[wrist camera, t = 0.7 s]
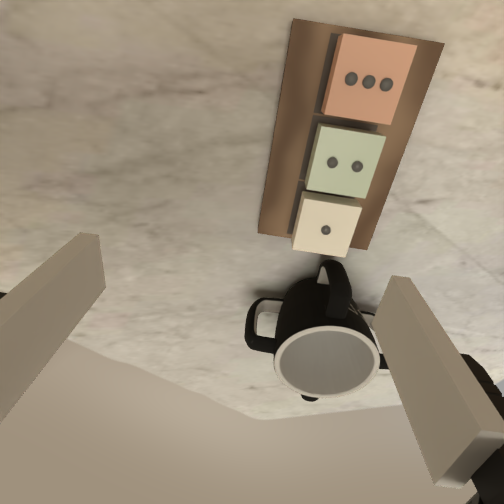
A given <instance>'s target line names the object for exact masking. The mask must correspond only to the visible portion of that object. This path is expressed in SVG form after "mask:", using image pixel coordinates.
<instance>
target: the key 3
mask: <svg viewBox="0 0 504 504" xmlns="http://www.w3.org/2000/svg"><path fill="white" fill-rule="evenodd" d="M416 49H417V45H411V44H405V43H399V42H393V41H387V40H381V39H375V38H369V37H363V36H357V35H351V34H345V33H343V34H342V35H340V36H338V40H337V44H336V49H335V53H334V57H333V62H332V66H331V70H330V75H329V79H328V83H327V88H326V92H325V96H324V101H323V105H322V109H321V112H322V113H323V114H325V115H331V116H338V117H344V118H350V119H356V120H362V121H368V122H375V123H381V124H387V125H391V122H392V119H393V116H394V113H395V110H396V108H397V105H398V102H399V99H400V96H401V93H402V90H403V87H404V84H405V81H406V78H407V75H408V72H409V69H410V66H411V64H412V61H413V58H414V55H415V52H416Z"/></svg>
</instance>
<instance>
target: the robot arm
mask: <svg viewBox="0 0 504 504" xmlns="http://www.w3.org/2000/svg"><path fill="white" fill-rule="evenodd" d="M105 288H106V285H105V278H104V270H103V263H102V256H101V249H100V241H99V235H95V234H88V233H81V232H80V233H79V234H78V235H77V236H76V237H74V238H73V239H72V240H71V241H70V242H68V243H67V244H66V245H65V246H64V247H62V248H61V249H60V250H59V251H58V252H56V253H55V254H54V255H53V256H52V257H50V258H49V259H48V260H47V261H46V262H44V263H43V264H42V265H41V266H40V267H38V268H37V269H36V270H35V271H34V272H32V273H31V274H30V275H29V276H28V277H26V278H25V279H24V280H23V281H22V282H20V283H19V284H18V285H17V286H16V287H14V288H13V289H12V290H11V291H10V292H9V293H2V292H0V423H1V422H2V421H3V419H4V418H5V417H6V415H7V414H8V413H9V412H10V410H11V409H12V408H13V407H14V405H15V404H16V403H17V401H18V400H19V399H20V398H21V396H22V395H23V394H24V392H25V391H26V390H27V388H28V387H29V386H30V385H31V383H32V382H33V381H34V379H35V378H36V377H37V376H38V374H39V373H40V372H41V370H42V369H43V368H44V367H45V365H46V364H47V363H48V361H49V360H50V359H51V357H52V356H53V355H54V354H55V352H56V351H57V350H58V348H59V347H60V346H61V345H62V343H63V342H64V341H65V340H66V338H67V337H68V336H69V334H70V333H71V332H72V330H73V329H74V328H75V327H76V325H77V324H78V323H79V321H80V320H81V319H82V318H83V316H84V315H85V314H86V312H87V311H88V310H89V309H90V307H91V306H92V305H93V303H94V302H95V301H96V300H97V298H98V297H99V296H100V294H101V293H102V292H103V290H104V289H105ZM371 324H372V326H373V329H374V331H375V334H376V337H377V339H378V342H379V344H380V347H381V349H382V352H383V355H384V357H385V360H386V362H387V365H388V368H389V370H390V373H391V375H392V378H393V380H394V383H395V386H396V388H397V391H398V393H399V396H400V398H401V401H402V404H403V406H404V409H405V411H406V414H407V417H408V419H409V422H410V424H411V427H412V429H413V432H414V435H415V437H416V440H417V442H418V445H419V447H420V450H421V453H422V455H423V458H424V460H425V463H426V465H427V468H428V471H429V473H430V475H431V478H432V481H433V483H434V485H435V486H444V487H451V488H459V489H461V488H462V487H463V486H464V485H465V484H466V483H467V482H468V481H469V480H470V479H472V481H473V483H474V485H475V487H476V489H477V491H478V492H477V493H476V494H475V495H474V496H473V497H472V498H471V499H470V500H469V501H468V502H467V503H466V504H504V397H502V393H501V392H500V391H499V389H498V388H497V386H496V385H494V384H493V381H492V379H491V378H490V376H489V375H488V373H487V372H486V371H485V369H484V368H483V367H482V366H481V365H480V364H479V363H478V362H476V361H475V360H474V359H473V358H472V357H471V356H470V355H467V354H460V353H459V352H458V350H457V349H456V347H455V346H454V344H453V343H452V341H451V340H450V338H449V337H448V335H447V334H446V332H445V331H444V329H443V328H442V326H441V325H440V323H439V322H438V320H437V318H436V317H435V315H434V314H433V312H432V311H431V309H430V308H429V306H428V305H427V303H426V302H425V300H424V299H423V297H422V296H421V294H420V293H419V291H418V290H417V288H416V287H415V285H414V284H413V282H412V281H411V279H410V278H408V277H401V276H393V275H392V276H391V279H390V281H389V283H388V286H387V288H386V290H385V293H384V295H383V297H382V300H381V302H380V305H379V307H378V309H377V312H376V314H375V316H374V319H373V321H372V323H371Z"/></svg>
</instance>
